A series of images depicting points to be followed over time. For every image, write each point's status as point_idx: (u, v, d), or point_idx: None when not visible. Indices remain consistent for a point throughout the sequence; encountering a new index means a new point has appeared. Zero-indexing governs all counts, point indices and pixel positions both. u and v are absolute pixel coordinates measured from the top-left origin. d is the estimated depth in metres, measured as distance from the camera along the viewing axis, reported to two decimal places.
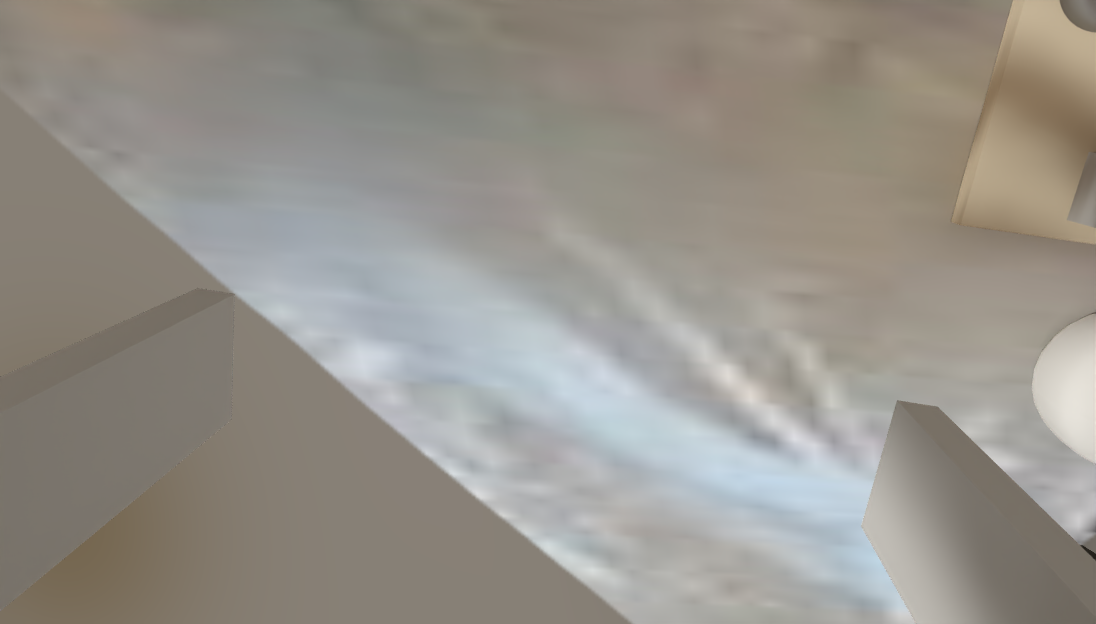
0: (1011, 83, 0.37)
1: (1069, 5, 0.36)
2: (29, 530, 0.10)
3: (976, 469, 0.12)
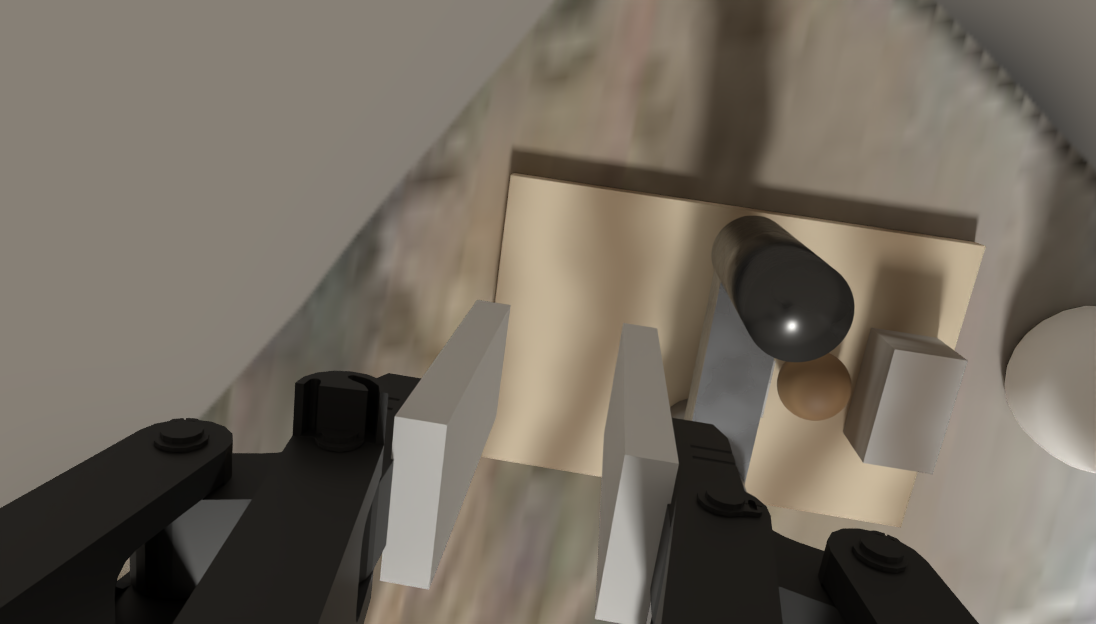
0: (775, 498, 0.43)
1: None
2: (448, 508, 0.12)
3: (639, 366, 0.14)
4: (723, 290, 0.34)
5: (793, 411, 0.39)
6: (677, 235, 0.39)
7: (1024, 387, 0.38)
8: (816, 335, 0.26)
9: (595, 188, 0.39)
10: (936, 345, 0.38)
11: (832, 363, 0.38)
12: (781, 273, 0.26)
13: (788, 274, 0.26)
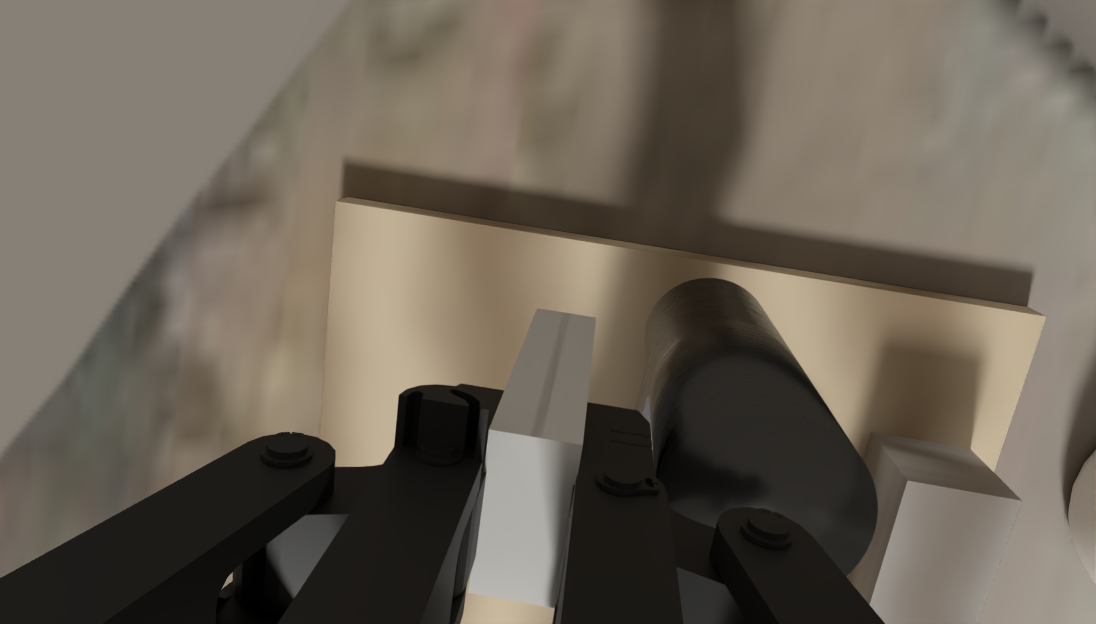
0: None
1: None
2: None
3: (567, 353, 0.14)
4: None
5: None
6: (583, 293, 0.27)
7: None
8: None
9: (460, 222, 0.26)
10: (970, 466, 0.25)
11: None
12: (735, 437, 0.13)
13: (749, 440, 0.13)
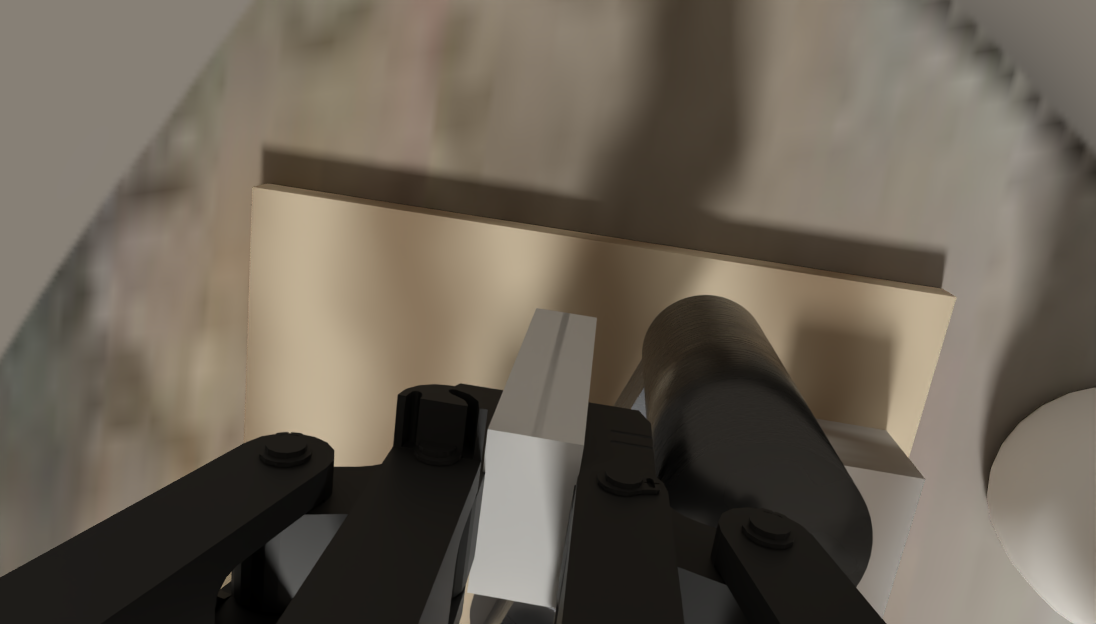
0: None
1: None
2: None
3: (568, 353, 0.14)
4: (643, 401, 0.21)
5: None
6: (499, 277, 0.27)
7: (1015, 511, 0.25)
8: None
9: (376, 207, 0.26)
10: (881, 447, 0.25)
11: None
12: (755, 461, 0.13)
13: (768, 468, 0.13)
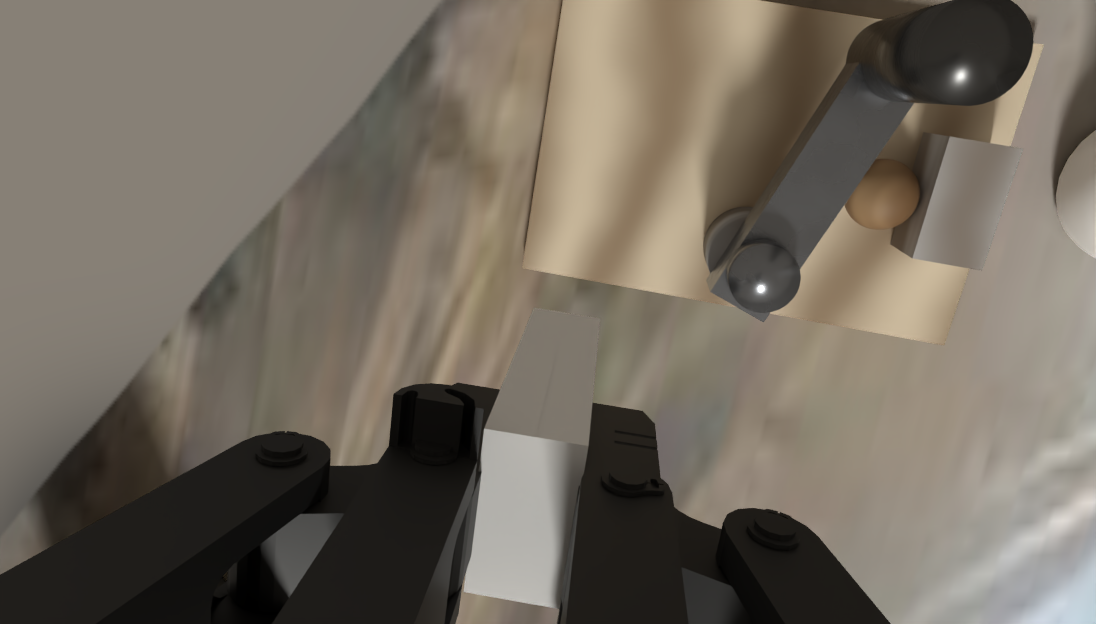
0: (818, 313, 0.43)
1: None
2: None
3: (572, 353, 0.14)
4: (858, 72, 0.34)
5: (869, 223, 0.39)
6: (731, 34, 0.40)
7: (1078, 187, 0.38)
8: (980, 81, 0.26)
9: None
10: None
11: (909, 171, 0.38)
12: (977, 4, 0.26)
13: (983, 7, 0.26)
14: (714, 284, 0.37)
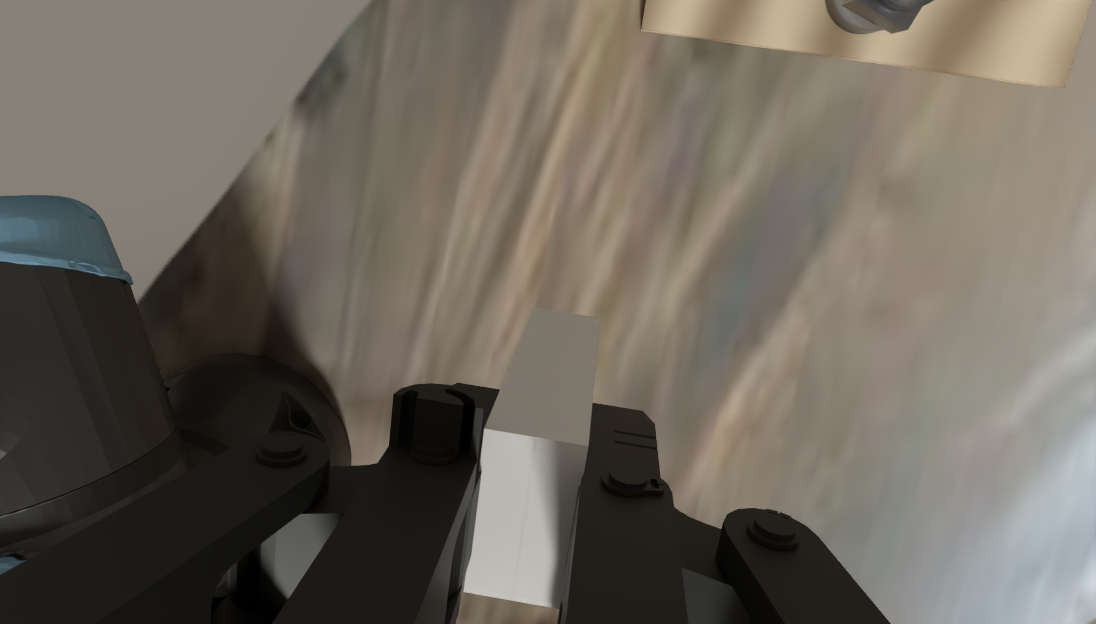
0: (940, 61, 0.44)
1: None
2: None
3: (572, 353, 0.14)
4: None
5: None
6: None
7: None
8: None
9: None
10: None
11: None
12: None
13: None
14: None
